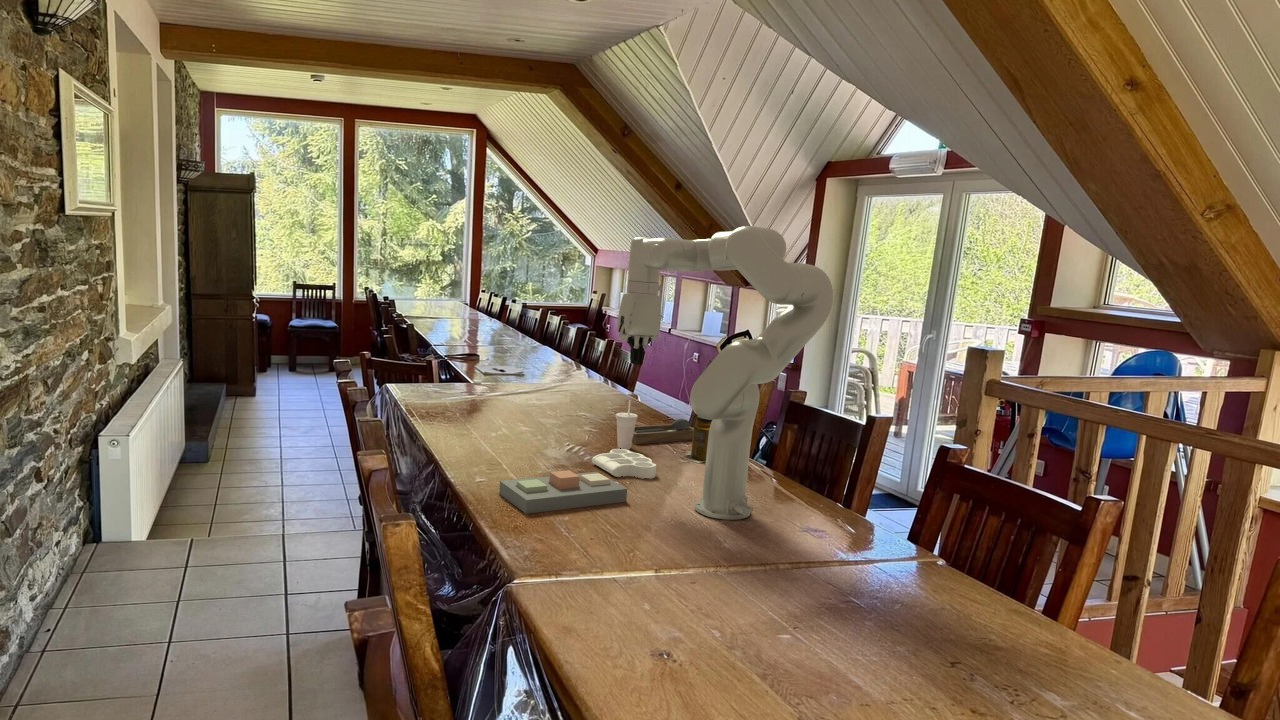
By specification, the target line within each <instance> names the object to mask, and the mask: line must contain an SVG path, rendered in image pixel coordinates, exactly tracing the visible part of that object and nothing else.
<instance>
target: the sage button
mask: <svg viewBox="0 0 1280 720" xmlns="http://www.w3.org/2000/svg"><path fill="white" fill-rule="evenodd" d="M517 488H519V489H520V490H522V491H523V492H524V493H533V492H542V491H547V485H546V484H544V483H543V482H541V481H539V480H538V479H534V480H524V481H517Z"/></svg>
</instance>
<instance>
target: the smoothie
mask: <svg viewBox="0 0 1280 720" xmlns="http://www.w3.org/2000/svg"><path fill="white" fill-rule="evenodd" d="M631 403H632V400H631V399H629V400H628V405H627V407H628V408H627V412H623V411H622V412H617V413H615V418H616V437H617V441H616V442H617V449H620V448H621V449H626V450H630V449H631V448H632V444H633V443H632V439H633V434H634V429H635V426H636V423H637V420H638V417H639V416H638V414H636V413H632V412H631V406H632V405H631Z"/></svg>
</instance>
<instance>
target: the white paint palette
mask: <svg viewBox="0 0 1280 720" xmlns="http://www.w3.org/2000/svg"><path fill="white" fill-rule="evenodd" d="M591 463H592V464H593V465H595V466H597V467H599V468H600V469H602V470H604V471H605V472H607V473H609V474H610V475H612V476H613V477H616V478H621V476H623V477H634V476H635V477H634V478H637V477H638V478H639V479H644V478H649V479H654V478H655V477H656V474H657V464H656V463H654V462H653V460H652V459H651V458H650V457H647V456H645V455H644V454H641V453H638V452H634V451H631V450H630V449H620V448H612V449H611V450H610V451H609V452H606V453H599V454H597V455H594V456H593V457H592V458H591Z"/></svg>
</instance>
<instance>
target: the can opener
mask: <svg viewBox="0 0 1280 720" xmlns="http://www.w3.org/2000/svg"><path fill="white" fill-rule="evenodd" d="M671 424H672V427H671V429H674V430H668V431H678V430H683V429H686V428H689V426H690V421H689V420H687V419H684V418H678V419H676V420H674V421H673V422H672V423H671ZM664 431H665V430H664V429H651V430H638V431H634V432H636V433H649V432H664Z"/></svg>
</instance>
